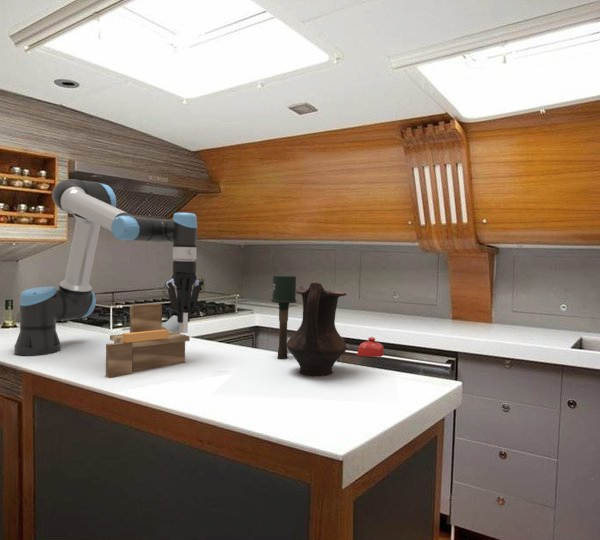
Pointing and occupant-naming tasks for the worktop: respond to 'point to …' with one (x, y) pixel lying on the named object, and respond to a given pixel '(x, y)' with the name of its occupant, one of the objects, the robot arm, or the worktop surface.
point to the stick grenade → (283, 307)
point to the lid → (148, 325)
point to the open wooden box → (141, 357)
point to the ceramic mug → (172, 325)
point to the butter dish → (371, 348)
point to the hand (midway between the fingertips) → (183, 332)
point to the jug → (317, 332)
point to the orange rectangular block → (145, 335)
